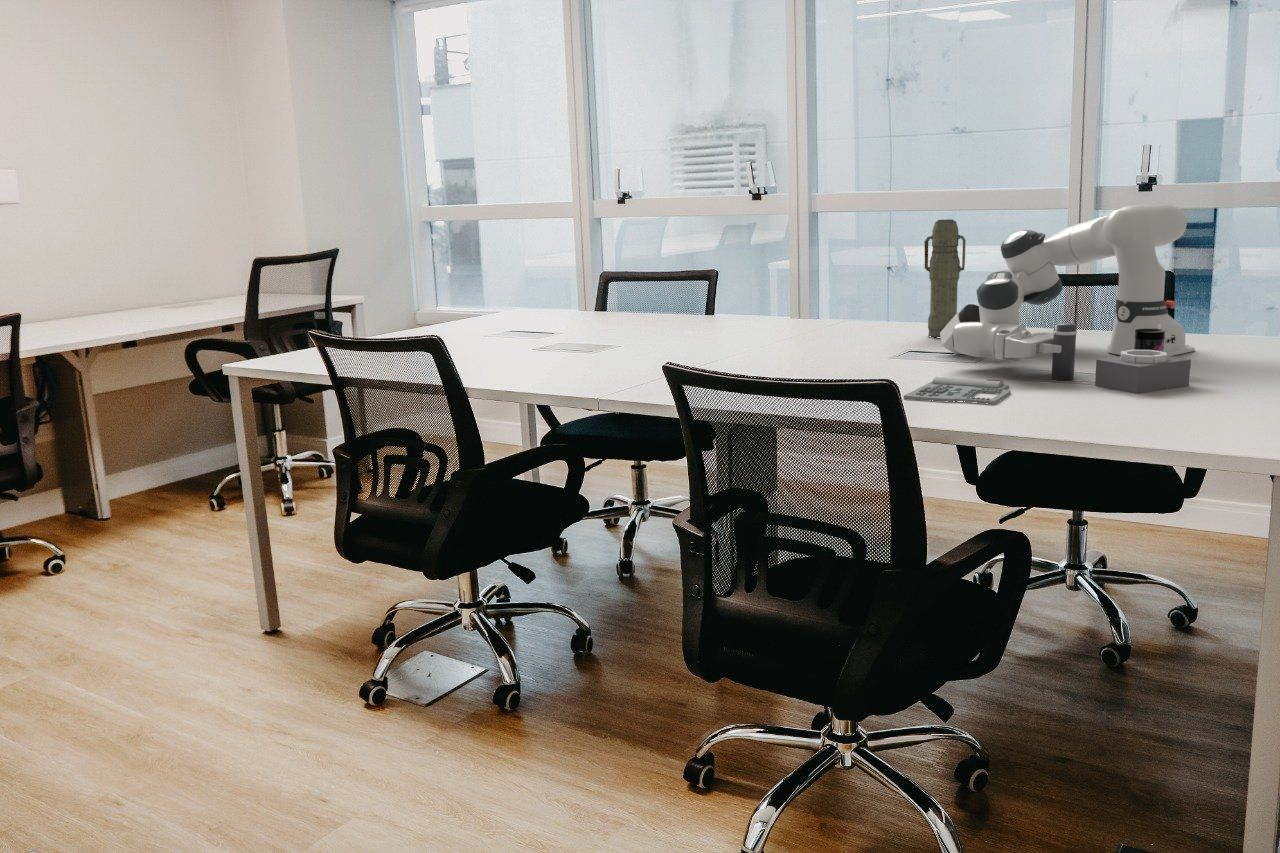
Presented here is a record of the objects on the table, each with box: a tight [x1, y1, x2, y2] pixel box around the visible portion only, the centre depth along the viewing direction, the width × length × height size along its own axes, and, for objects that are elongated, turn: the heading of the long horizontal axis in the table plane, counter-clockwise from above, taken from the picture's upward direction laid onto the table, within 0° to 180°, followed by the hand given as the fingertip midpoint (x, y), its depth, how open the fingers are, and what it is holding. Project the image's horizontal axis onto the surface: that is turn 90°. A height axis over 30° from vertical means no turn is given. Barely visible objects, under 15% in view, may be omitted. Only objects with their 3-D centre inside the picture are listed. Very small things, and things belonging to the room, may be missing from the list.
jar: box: [940, 303, 980, 355], centre depth 299 cm, size 9×8×12 cm
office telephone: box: [903, 376, 1012, 405], centre depth 251 cm, size 23×3×20 cm
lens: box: [1051, 322, 1078, 381], centre depth 261 cm, size 5×5×13 cm
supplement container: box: [1134, 329, 1165, 352], centre depth 264 cm, size 7×7×10 cm
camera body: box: [1094, 350, 1192, 394], centre depth 250 cm, size 16×12×8 cm
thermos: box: [924, 219, 966, 338], centre depth 331 cm, size 9×12×35 cm
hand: (1068, 347), depth 260 cm, fingers closed on lens, 5 cm apart
